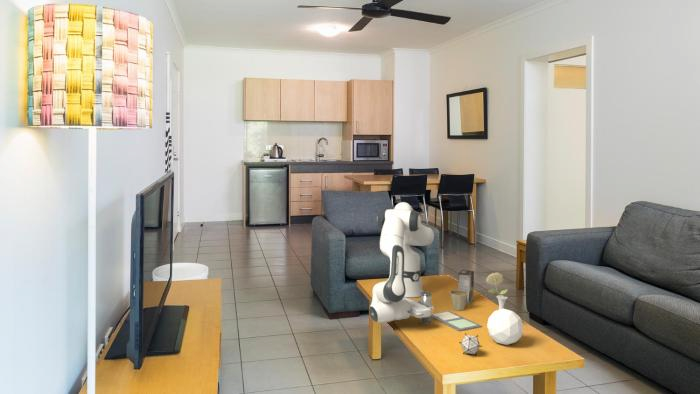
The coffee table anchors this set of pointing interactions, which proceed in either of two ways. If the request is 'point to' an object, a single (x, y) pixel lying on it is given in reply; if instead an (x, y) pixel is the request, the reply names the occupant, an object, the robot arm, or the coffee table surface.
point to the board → (455, 321)
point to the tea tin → (425, 304)
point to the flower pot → (458, 299)
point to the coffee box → (466, 283)
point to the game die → (470, 344)
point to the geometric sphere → (505, 326)
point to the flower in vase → (495, 280)
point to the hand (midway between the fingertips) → (427, 305)
